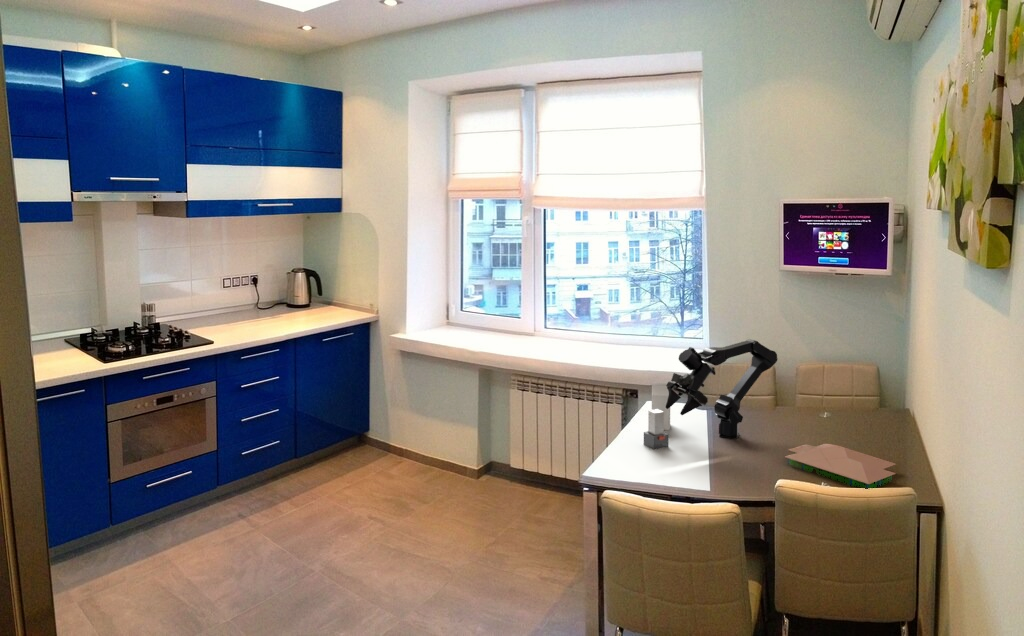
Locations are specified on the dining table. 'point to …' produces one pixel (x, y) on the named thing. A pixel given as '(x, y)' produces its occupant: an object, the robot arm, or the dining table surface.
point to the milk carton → (661, 401)
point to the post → (656, 422)
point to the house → (842, 463)
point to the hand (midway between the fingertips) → (673, 411)
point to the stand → (656, 440)
